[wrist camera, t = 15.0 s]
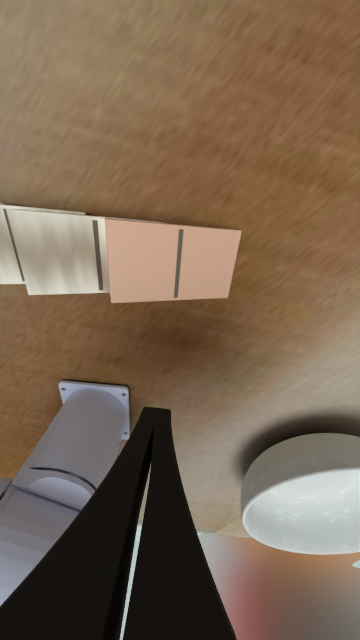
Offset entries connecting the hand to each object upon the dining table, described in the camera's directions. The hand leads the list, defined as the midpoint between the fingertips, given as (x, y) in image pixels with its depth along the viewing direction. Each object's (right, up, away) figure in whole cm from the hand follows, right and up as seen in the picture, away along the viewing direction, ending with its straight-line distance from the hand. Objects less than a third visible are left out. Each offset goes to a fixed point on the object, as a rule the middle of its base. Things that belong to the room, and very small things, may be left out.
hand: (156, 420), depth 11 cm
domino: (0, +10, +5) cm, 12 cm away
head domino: (+5, +10, +6) cm, 12 cm away
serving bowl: (+19, -14, +19) cm, 30 cm away
